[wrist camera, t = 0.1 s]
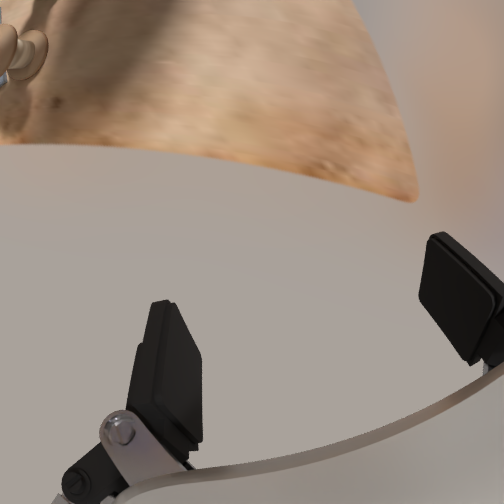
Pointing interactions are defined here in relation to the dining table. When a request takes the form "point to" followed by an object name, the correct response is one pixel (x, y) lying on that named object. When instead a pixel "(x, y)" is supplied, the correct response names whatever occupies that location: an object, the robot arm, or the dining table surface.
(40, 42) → the bobbin
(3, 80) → the grey walled base plate
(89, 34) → the dining table surface
